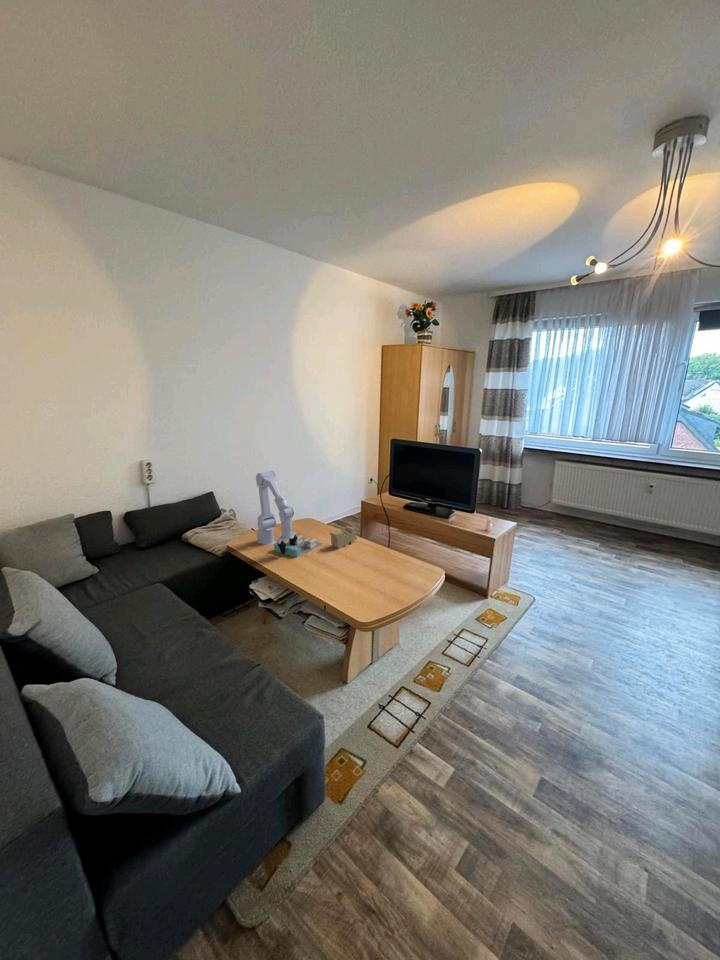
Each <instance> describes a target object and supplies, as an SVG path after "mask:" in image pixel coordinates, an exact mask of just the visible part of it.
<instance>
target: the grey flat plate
mask: <svg viewBox="0 0 720 960" xmlns="http://www.w3.org/2000/svg"><path fill="white" fill-rule="evenodd" d="M306 539H307V538H305V537H304V538H303V542H302V543H300V544H298V545H296V544H295V547H299V548H301V554H308V553H309V552H311V551H313V550H315V549H316V548H318V547H320V546H321V545H323V543H321V542H318V541H316V546H315V547H313V548H311V549H310V548H307V547H304V540H306ZM286 543H287V544H288V545H290V542H289V541H288V542H286Z"/></svg>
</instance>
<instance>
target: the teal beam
mask: <svg viewBox="0 0 720 960" xmlns="http://www.w3.org/2000/svg"><path fill="white" fill-rule="evenodd" d="M273 544H274V545H273V547H274V548H273V550H274V552H276V553H280V554H282V553H281V551H280V548H279V546H278V545H277V542H275V543H273ZM284 555H287V556H290V557H295V558H299V557H300V556H301V555H302V552H301V548H299V547H295V546H291V545H288V544H286V547H285V554H284Z"/></svg>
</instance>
